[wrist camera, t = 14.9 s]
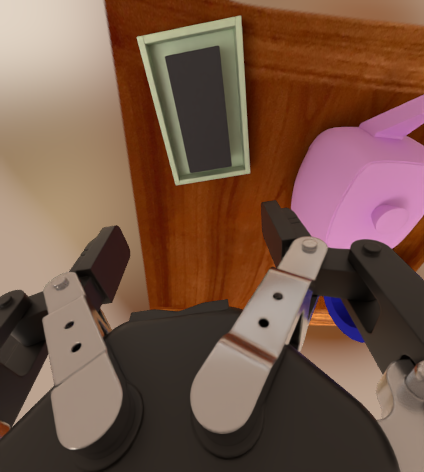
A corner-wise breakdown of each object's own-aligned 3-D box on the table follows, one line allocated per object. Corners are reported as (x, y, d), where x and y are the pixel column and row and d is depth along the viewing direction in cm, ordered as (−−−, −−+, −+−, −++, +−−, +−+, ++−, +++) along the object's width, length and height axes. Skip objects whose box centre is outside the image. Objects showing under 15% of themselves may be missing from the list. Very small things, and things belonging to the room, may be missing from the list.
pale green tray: (177, 178, 31) (175, 185, 29) (141, 39, 23) (136, 36, 21) (247, 167, 31) (250, 173, 29) (237, 20, 22) (241, 15, 20)
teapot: (343, 233, 38) (396, 293, 27) (270, 229, 37) (297, 289, 26) (417, 92, 26) (558, 103, 16) (314, 80, 25) (392, 84, 15)
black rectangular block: (168, 58, 23) (164, 56, 20) (217, 48, 23) (219, 45, 20) (191, 164, 29) (190, 173, 27) (229, 157, 29) (232, 166, 26)
